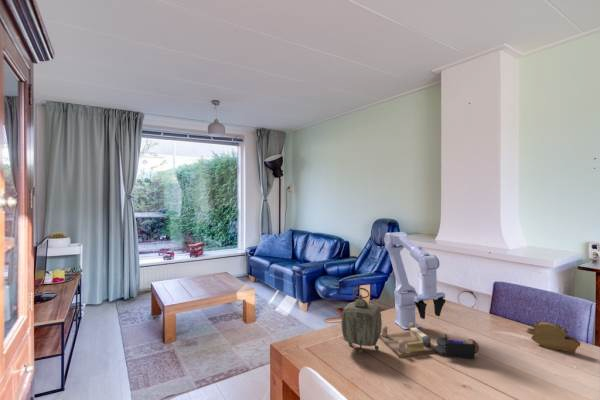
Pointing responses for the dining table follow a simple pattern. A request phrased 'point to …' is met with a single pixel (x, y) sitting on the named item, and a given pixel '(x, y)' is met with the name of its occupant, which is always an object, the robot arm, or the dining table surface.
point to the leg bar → (420, 337)
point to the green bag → (361, 322)
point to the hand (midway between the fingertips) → (430, 316)
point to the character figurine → (457, 348)
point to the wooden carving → (553, 337)
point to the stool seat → (405, 343)
